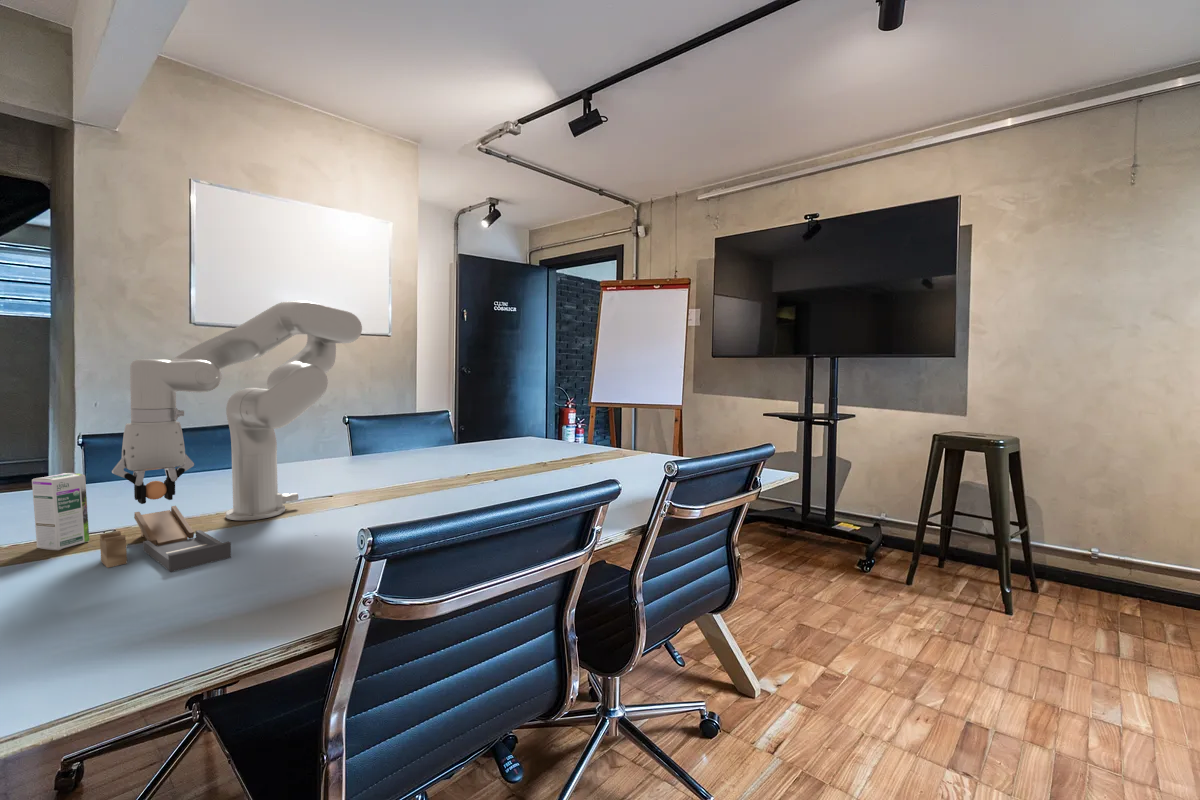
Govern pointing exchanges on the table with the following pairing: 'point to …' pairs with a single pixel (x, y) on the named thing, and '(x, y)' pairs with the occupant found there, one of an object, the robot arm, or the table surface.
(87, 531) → the syrup box
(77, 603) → the table surface
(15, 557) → the table surface
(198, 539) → the lane
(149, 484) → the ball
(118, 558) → the wooden upright block
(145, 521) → the ramp
